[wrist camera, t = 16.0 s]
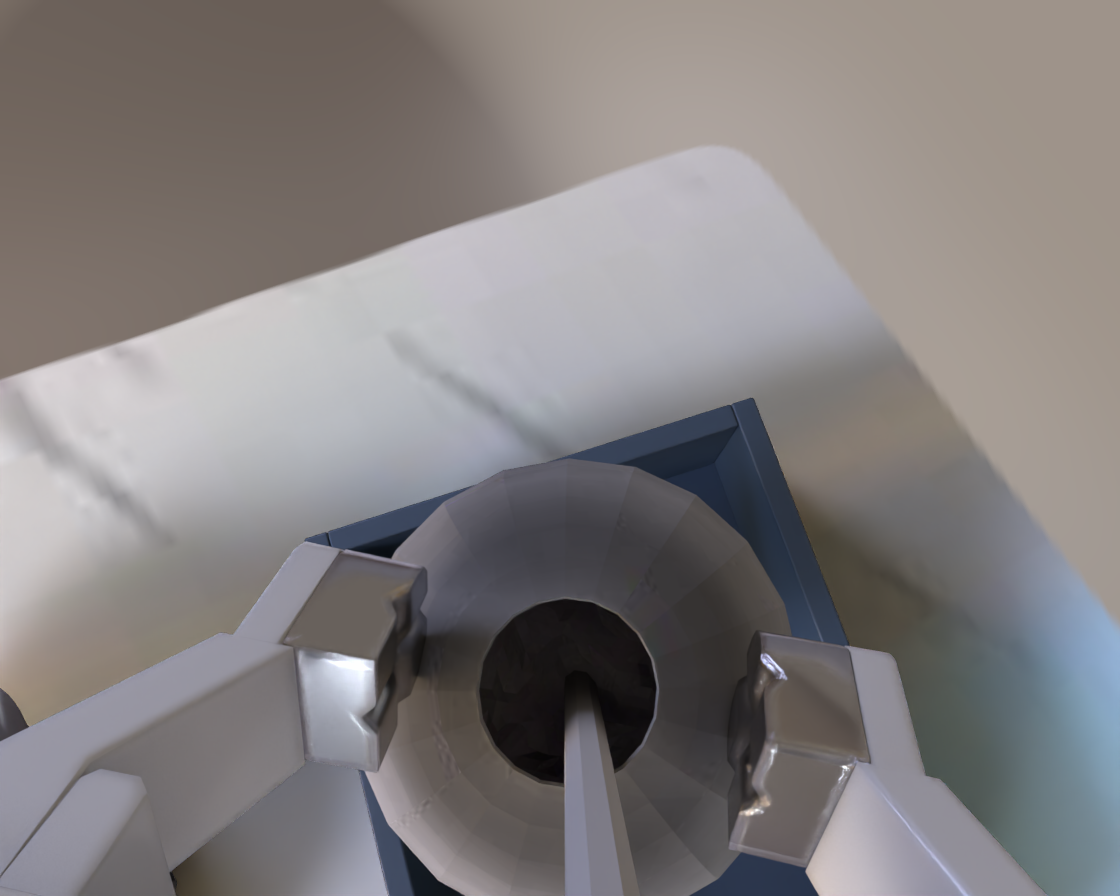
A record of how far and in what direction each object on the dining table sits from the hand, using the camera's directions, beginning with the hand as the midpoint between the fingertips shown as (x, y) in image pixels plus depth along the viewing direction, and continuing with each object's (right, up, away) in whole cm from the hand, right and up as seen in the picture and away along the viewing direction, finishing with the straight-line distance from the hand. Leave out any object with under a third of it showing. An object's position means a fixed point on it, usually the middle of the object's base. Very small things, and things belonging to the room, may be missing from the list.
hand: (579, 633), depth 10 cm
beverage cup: (+1, -4, +15) cm, 16 cm away
